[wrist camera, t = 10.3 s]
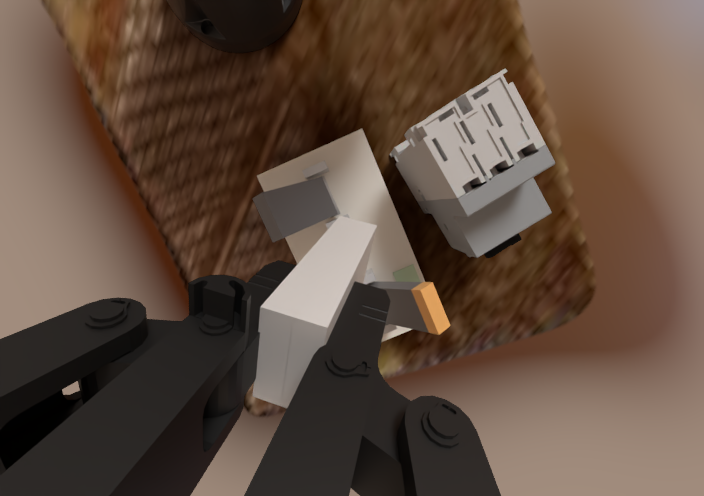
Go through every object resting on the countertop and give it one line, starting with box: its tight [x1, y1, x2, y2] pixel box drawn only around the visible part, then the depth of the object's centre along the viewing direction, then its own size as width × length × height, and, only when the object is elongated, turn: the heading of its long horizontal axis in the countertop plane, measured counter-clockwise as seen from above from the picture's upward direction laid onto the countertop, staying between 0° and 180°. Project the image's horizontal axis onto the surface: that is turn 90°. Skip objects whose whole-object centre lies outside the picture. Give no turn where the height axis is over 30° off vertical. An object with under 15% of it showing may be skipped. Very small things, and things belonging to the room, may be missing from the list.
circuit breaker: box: [389, 68, 555, 258], centre depth 32 cm, size 8×14×15 cm, turn 32°
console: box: [257, 129, 425, 342], centre depth 36 cm, size 22×12×8 cm, turn 23°
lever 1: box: [252, 176, 340, 242], centre depth 30 cm, size 4×1×9 cm
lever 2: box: [366, 281, 450, 335], centre depth 31 cm, size 4×1×10 cm, turn 23°
